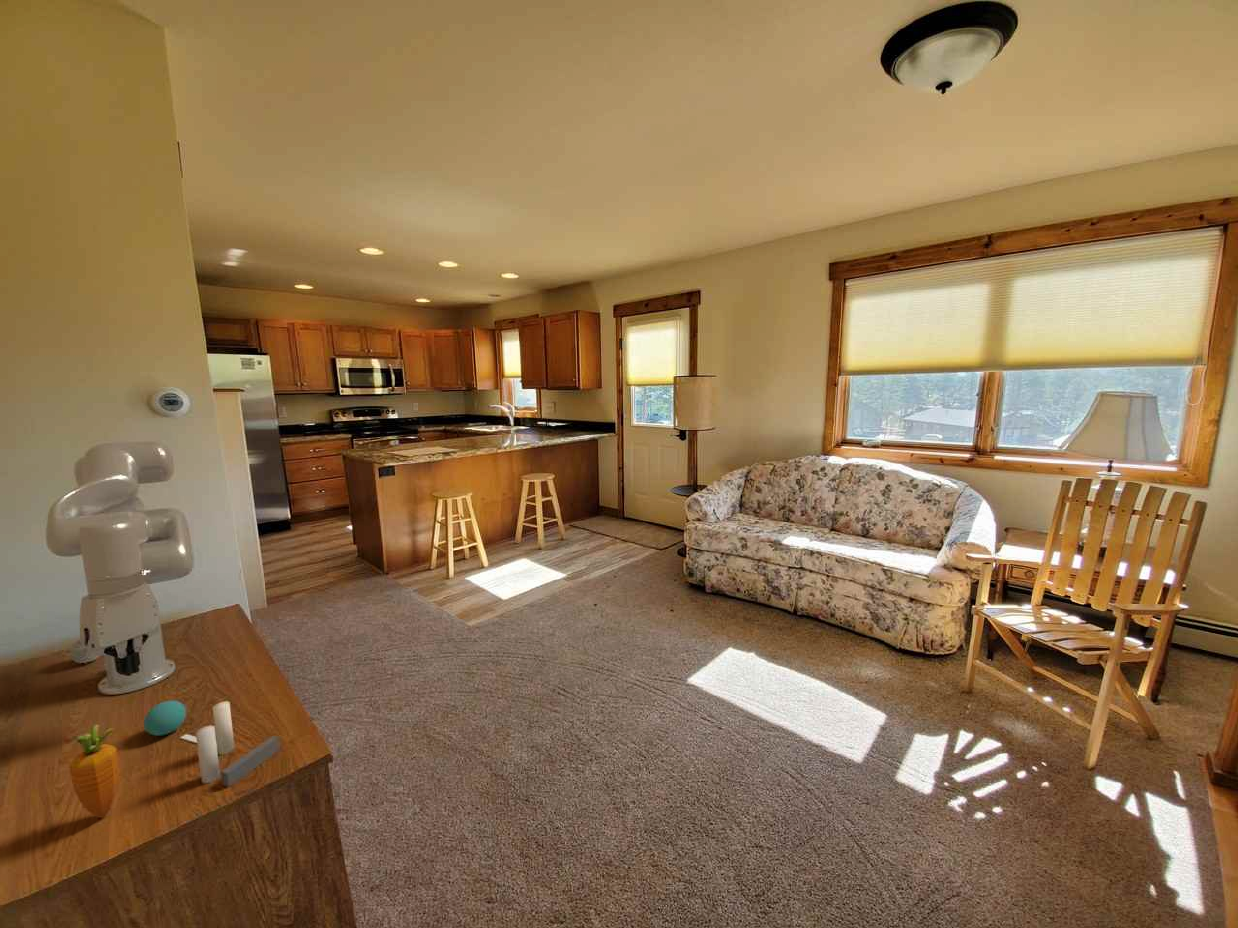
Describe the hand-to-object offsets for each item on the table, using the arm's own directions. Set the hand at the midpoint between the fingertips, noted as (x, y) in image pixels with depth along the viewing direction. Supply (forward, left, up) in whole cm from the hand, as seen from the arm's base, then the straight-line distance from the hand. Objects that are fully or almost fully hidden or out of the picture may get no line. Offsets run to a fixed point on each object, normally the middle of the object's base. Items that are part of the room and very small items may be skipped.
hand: (129, 672), depth 94 cm
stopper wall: (+33, -1, -11) cm, 35 cm away
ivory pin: (+24, 0, -11) cm, 27 cm away
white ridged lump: (-39, +11, -11) cm, 42 cm away
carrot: (+21, -16, -11) cm, 29 cm away
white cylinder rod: (+29, -5, -11) cm, 31 cm away
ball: (+8, 0, -8) cm, 12 cm away
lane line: (+17, 0, -11) cm, 21 cm away
